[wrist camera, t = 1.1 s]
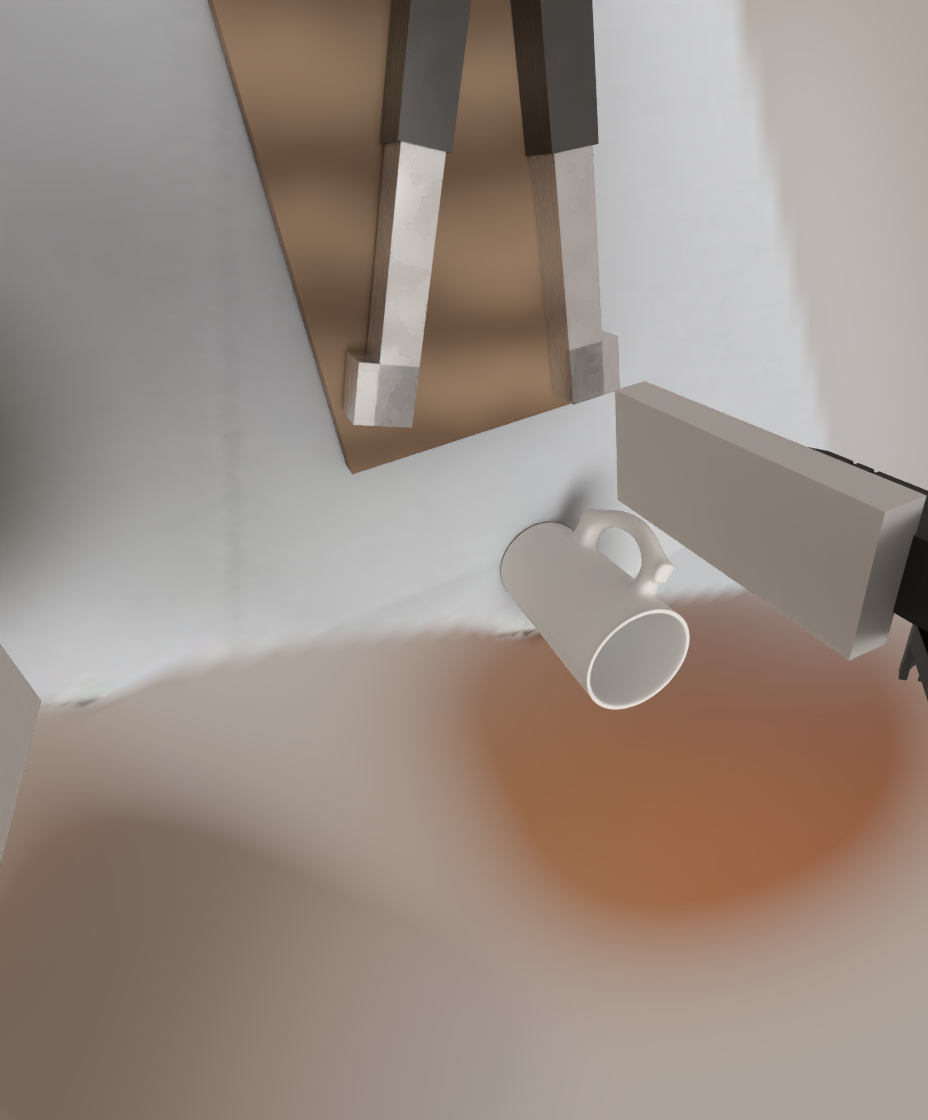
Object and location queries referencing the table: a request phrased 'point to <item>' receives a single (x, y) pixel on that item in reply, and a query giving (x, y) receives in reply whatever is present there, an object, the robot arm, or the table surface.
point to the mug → (599, 606)
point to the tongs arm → (408, 204)
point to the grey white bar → (565, 188)
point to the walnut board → (353, 207)
